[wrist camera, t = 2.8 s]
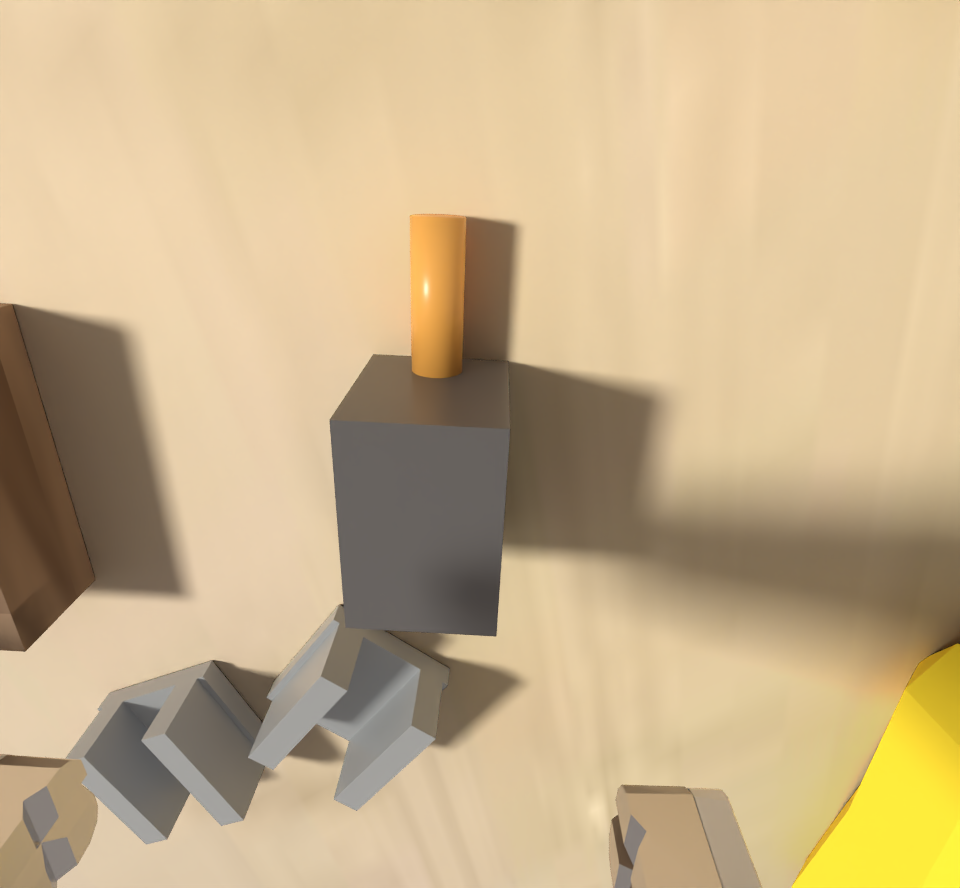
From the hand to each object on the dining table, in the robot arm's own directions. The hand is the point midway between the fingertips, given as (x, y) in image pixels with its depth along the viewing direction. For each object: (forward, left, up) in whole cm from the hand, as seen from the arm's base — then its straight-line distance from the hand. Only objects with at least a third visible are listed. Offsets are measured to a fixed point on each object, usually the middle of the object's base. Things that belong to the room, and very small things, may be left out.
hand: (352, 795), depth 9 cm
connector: (0, -3, -11) cm, 11 cm away
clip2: (+10, +12, -11) cm, 19 cm away
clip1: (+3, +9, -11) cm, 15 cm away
